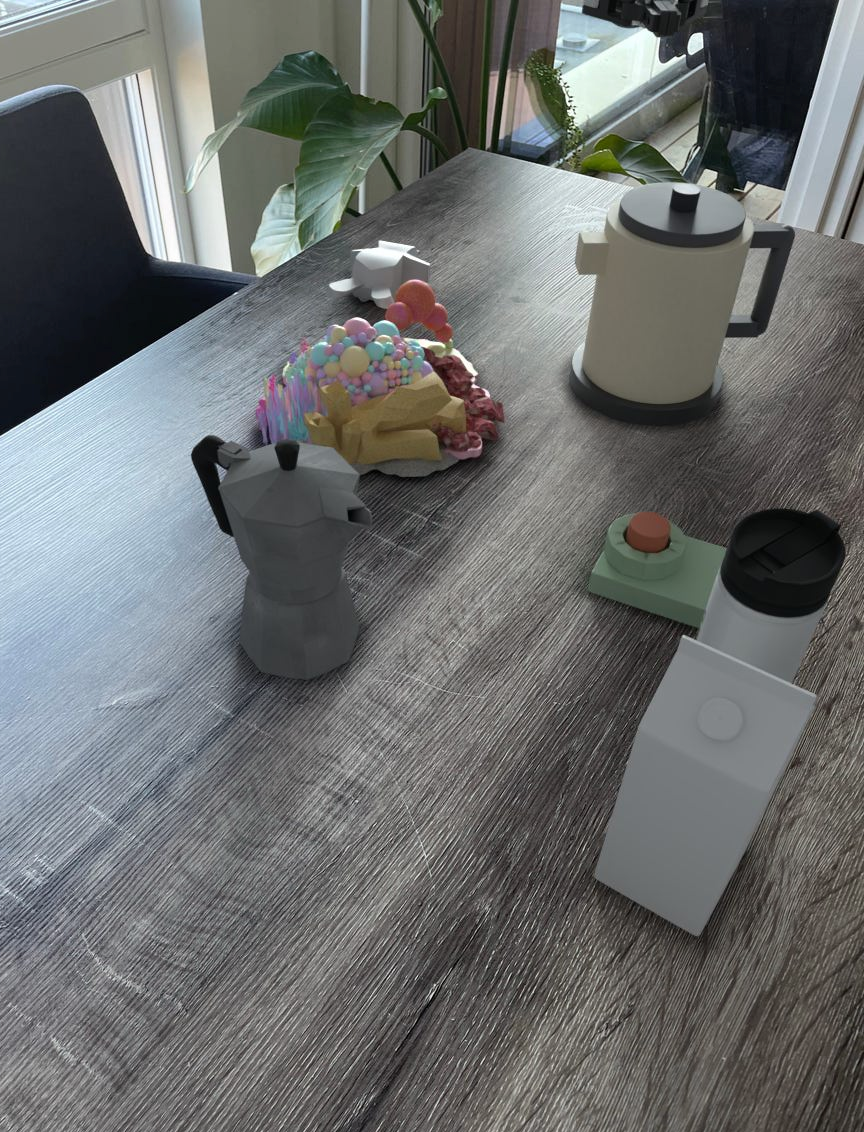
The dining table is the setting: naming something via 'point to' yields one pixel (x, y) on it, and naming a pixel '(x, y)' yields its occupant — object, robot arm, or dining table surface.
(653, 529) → the red button cap
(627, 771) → the milk carton
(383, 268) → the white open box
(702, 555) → the button base
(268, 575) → the coffeepot
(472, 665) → the dining table surface
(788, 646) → the travel mug
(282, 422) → the pastel sphere sculpture
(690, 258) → the kettle
